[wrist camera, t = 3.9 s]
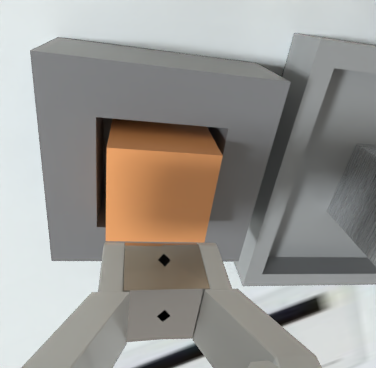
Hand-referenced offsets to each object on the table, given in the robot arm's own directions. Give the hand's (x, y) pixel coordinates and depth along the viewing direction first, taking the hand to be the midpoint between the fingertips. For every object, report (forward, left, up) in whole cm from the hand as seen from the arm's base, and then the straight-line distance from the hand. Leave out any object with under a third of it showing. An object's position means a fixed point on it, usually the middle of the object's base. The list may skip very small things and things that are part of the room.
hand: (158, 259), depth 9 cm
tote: (-13, +1, -9) cm, 16 cm away
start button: (0, 0, -6) cm, 6 cm away
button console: (0, 0, -9) cm, 9 cm away
